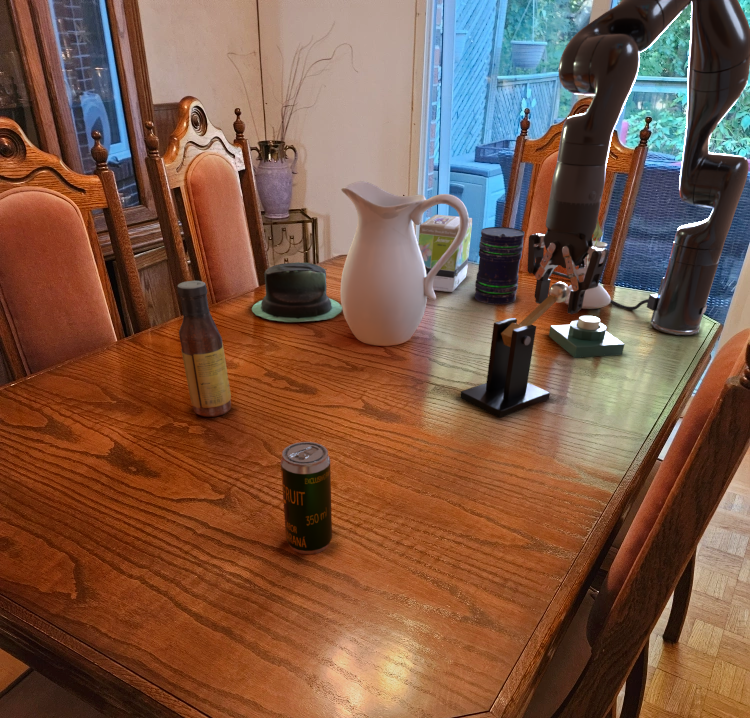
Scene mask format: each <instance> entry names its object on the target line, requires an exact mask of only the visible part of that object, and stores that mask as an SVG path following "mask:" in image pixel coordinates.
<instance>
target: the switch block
mask: <svg viewBox="0 0 750 718" xmlns="http://www.w3.org/2000/svg"><path fill="white" fill-rule="evenodd" d="M578 321H579V319H575V320H572V321H571V322H570V324H557V325H550V327H549V331H548V337H549V338H550V339H551V340H553V342H555V344H557V345H559V346H560V347H561V348H562V349H563V350H565V351H566V352H567V353H568V354H569V355H571V356H572V357H573V358H574V359H578V358H595V357H609V356H610V357H611V356H623V352H624V350H625V349H624V348H625V345H626V344H625V343H624V342H623V341H621V340H620V339H619V338H617V337H615V336H614V335H612V334H611V333H610V332H608V331H607V326H606V325H605V324H604V323H602V322H600V323H599V328H598V329H597V330H588V329H582V328H579V327H578Z"/></svg>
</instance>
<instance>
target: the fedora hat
mask: <svg viewBox="0 0 750 718" xmlns="http://www.w3.org/2000/svg"><path fill="white" fill-rule="evenodd" d="M263 275H264V285H265V286H264V287H265V296H264V297H263V298H262V299H261V300H259V301H257V302H256V303H254V304H253V305H252V307H251V312H252V313H253V314H254V315H255V316H257V317H261V318H262V319H266V320H269V321H277V322H282V323H283V322H284V323H300V322H315V321H325V320H331V319H334V318H335V317H337V316H338V315H340V314H341V313H342V312H343V310H342V304H341V303H339V302H338V301H337V300H335V299H332V298H330V297H329V296H328V295H327V287H328V286H327V268H325V267H322V266H320V265H318V264H315V263H311V262H299V261H298V262H285V263H279V264H274V265H272V266H270V267H268V268H267V269H266V270H265V271H264V273H263Z"/></svg>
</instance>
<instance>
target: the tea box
mask: <svg viewBox="0 0 750 718" xmlns="http://www.w3.org/2000/svg"><path fill="white" fill-rule="evenodd" d="M459 226H460V217H459V216H455V215H445V214H434V215H433V216H431V217H430V218H428V219H426V220H425V221H424V222H421V223H420V224H419V229H418V230H419V232H418V245H419V248H420V251H421V254H422V257H423V261H424V265H425V269H426V275H427V274H428V273H429V272H430V270H431V269H432V268H433V266H434V265H435V264H436V263H437V262H438V260H439V259H440V258H441V257H442V255H443V254H444V253H445V252H446V251H447V249H448V248H449V247H450V245H451V244H452V242H453V241H454V239H455V237H456V235H457V233H458V230H459ZM472 229H473V217H469V224H468V230H467V233H466V236H465V238H464V240H463V241H462V243H461V244H460V246H459V247H458V249H457V250H456V251H455V252H454V254H453V255H452V256H451V257H450V258H449V259H448V260H447V262H446V263H445V264H444V265H443V266H442V267H441V269H440V270H439V271H438V273H437V274H436V276H435V277H434V280H433V290H434V291H439V292H449V293H453V292H454V291H455V289H457V288H458V286H459V285H460V284H461V283H462V282H463V281H464V280H465V279H466V277H467V274H468V273H467V272H468V265H469V257H470V247H471V236H472Z"/></svg>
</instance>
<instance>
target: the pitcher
mask: <svg viewBox="0 0 750 718" xmlns="http://www.w3.org/2000/svg"><path fill="white" fill-rule="evenodd" d="M340 190H341V192H342V193H343V194H344V195H345V196H346V197H347V198H348V199H349V200H350V201H351V202H352V205H354V207H355V210H356V213H357V224H356V230H355V233H354V236H353V239H352V242H351V244H350V247H349V249H348V251H347V255H346V258H345V261H344V264H343V268H342V273H341V279H340V290H339V291H340V305H341V306H342V313H343V317H344V319H345V321H346V323H347V325H348V327H349V329H350V331H351V333H352V334H353V335H354V337H355V338H356V339H357V340H358V341H359V342H361V343H364V344H366V345H371V346H377V347H379V346H381V347H391V346H397V345H402V344H403V343H406V342H408V341H410V340H411V339H412V337H413V335H414V334H415V332H417V330H418V328H419V326H420V324H421V323H422V320H423V318H424V315H425V312H426V308H427V302H428V299H429V300H432V301H435V300H437V295H436V293H435V290H433V280H434V277H435V276H436V274H437V273H438V271H439V270H440V269H441V267H442V266H443V265H444V264H445V263H446V262H447V260H448V259H449V258H450V257H451V256H452V255H453V254H454V252H455V251H456V250H457V249H458V247H459V246H460V244H461V243H462V241H463V240H464V238H465V236H466V233H467V230H468V224H469V218H470V217H469V212H468V209H467V206H466V205H465V204H464V201H462V200H461V199H460V198H459V197H457V196H456V195H453V194H449V193H440V194H436V195H433V196H431V197H429V198H426V196H425V195H424V194H413V195H407V196H406V195H403V196H401V195H398V194H397V195H396V194H394V193H391V192H389V191H387V190H385V189H383V188H381V187H380V186H377V185H375V184H373V183H372V182H368V181H367V180H360V181H355V182H351V183H349V184H347V185H346V186H343V187H341V189H340ZM437 205H447V206H450V207H451V208H453V209H454V210H455V211H456V212H457V214H458V217H460V226H459V230H458V233H457V235H456V237H455V239H454V241H453V242H452V244H451V245H450V247H449V248H448V249H447V251H446V252H445V253H444V254H443V255H442V257H441V258H440V259H439V260H438V262H437V263H436V264H435V265H434V266H433V268H432V269H431V270H430V272H429V273H428V274H427V275H426V269H425V265H424V261H423V257H422V254H421V251H420V248H419V245H418V244H419V241H418V238H417V236H416V232H415V231H416V230H415V227H414V226H415V225H416V226H420V225H421V223H422V222H421V221H422V217H423V215H424V213H425V212H426V211H428V210H429V209H431V208H432V207H434V206H437Z"/></svg>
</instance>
